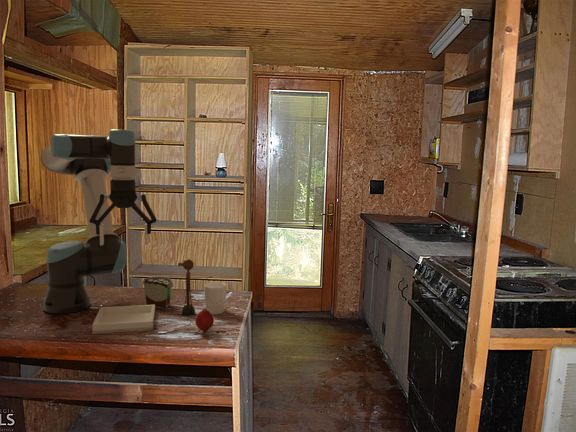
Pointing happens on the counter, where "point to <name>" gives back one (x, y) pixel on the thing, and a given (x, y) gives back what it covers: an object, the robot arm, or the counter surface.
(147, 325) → the tray
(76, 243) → the robot arm
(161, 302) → the food container
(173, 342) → the counter surface
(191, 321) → the counter surface
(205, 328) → the onion
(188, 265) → the wooden tabletop sculpture
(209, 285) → the white cup
